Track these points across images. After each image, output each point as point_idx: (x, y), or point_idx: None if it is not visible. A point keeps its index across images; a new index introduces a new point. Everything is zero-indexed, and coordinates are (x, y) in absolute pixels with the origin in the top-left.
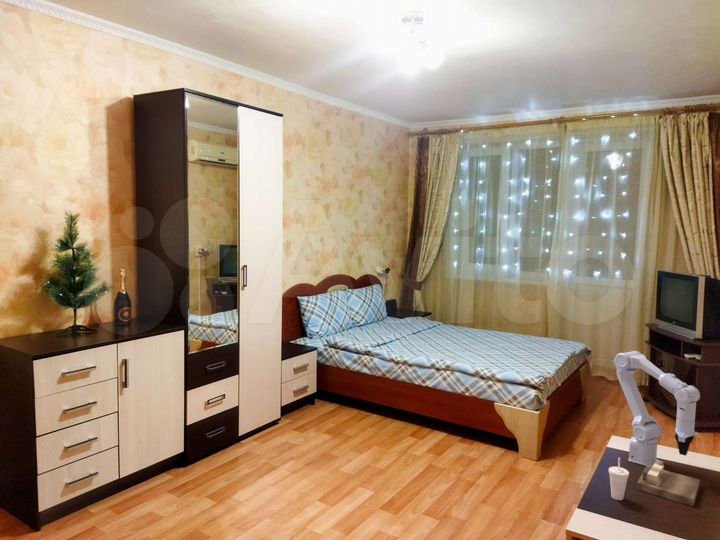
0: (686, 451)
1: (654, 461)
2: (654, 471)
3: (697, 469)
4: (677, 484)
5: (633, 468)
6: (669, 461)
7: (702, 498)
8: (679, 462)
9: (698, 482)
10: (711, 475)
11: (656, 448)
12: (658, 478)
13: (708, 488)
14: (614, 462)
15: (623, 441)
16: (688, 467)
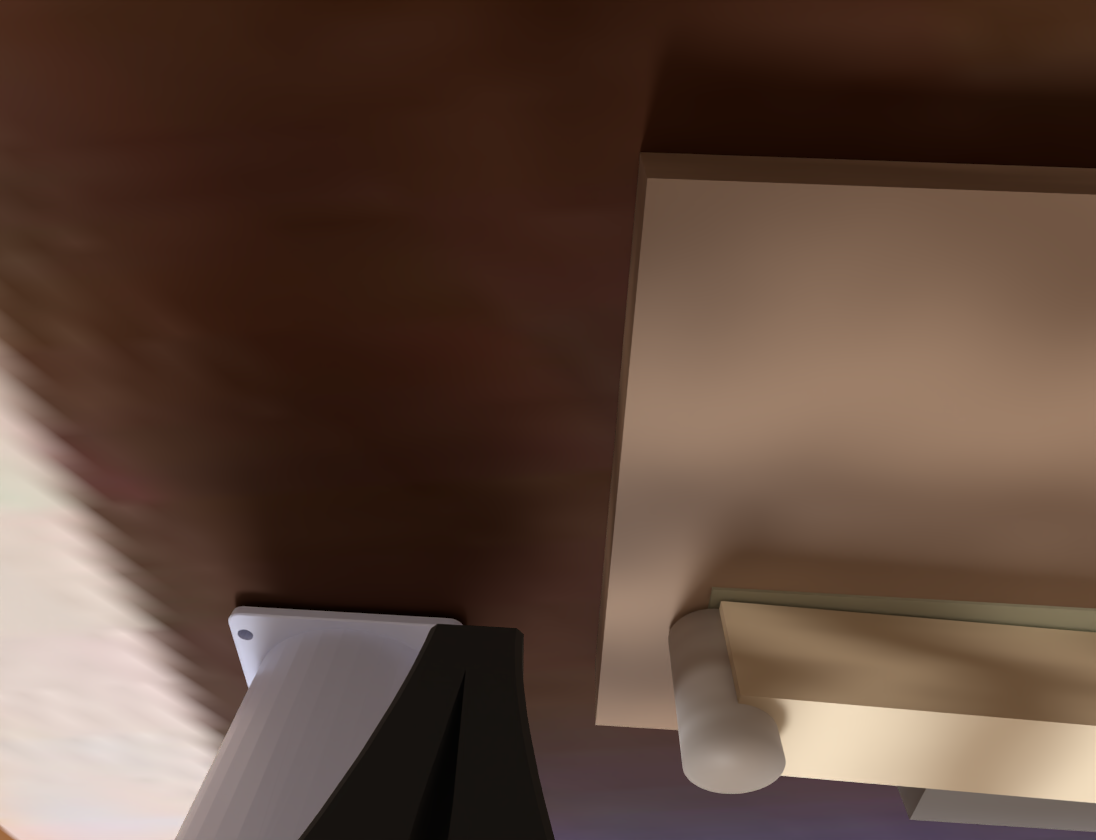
0: (523, 726)
1: (379, 667)
2: (1056, 762)
3: (31, 226)
4: (1017, 447)
5: (602, 739)
6: (122, 521)
7: (1079, 74)
8: (36, 434)
9: (779, 193)
10: (50, 11)
11: (295, 819)
12: (1061, 660)
13: (625, 15)
14: (579, 835)
15: (61, 824)
16: (84, 334)
